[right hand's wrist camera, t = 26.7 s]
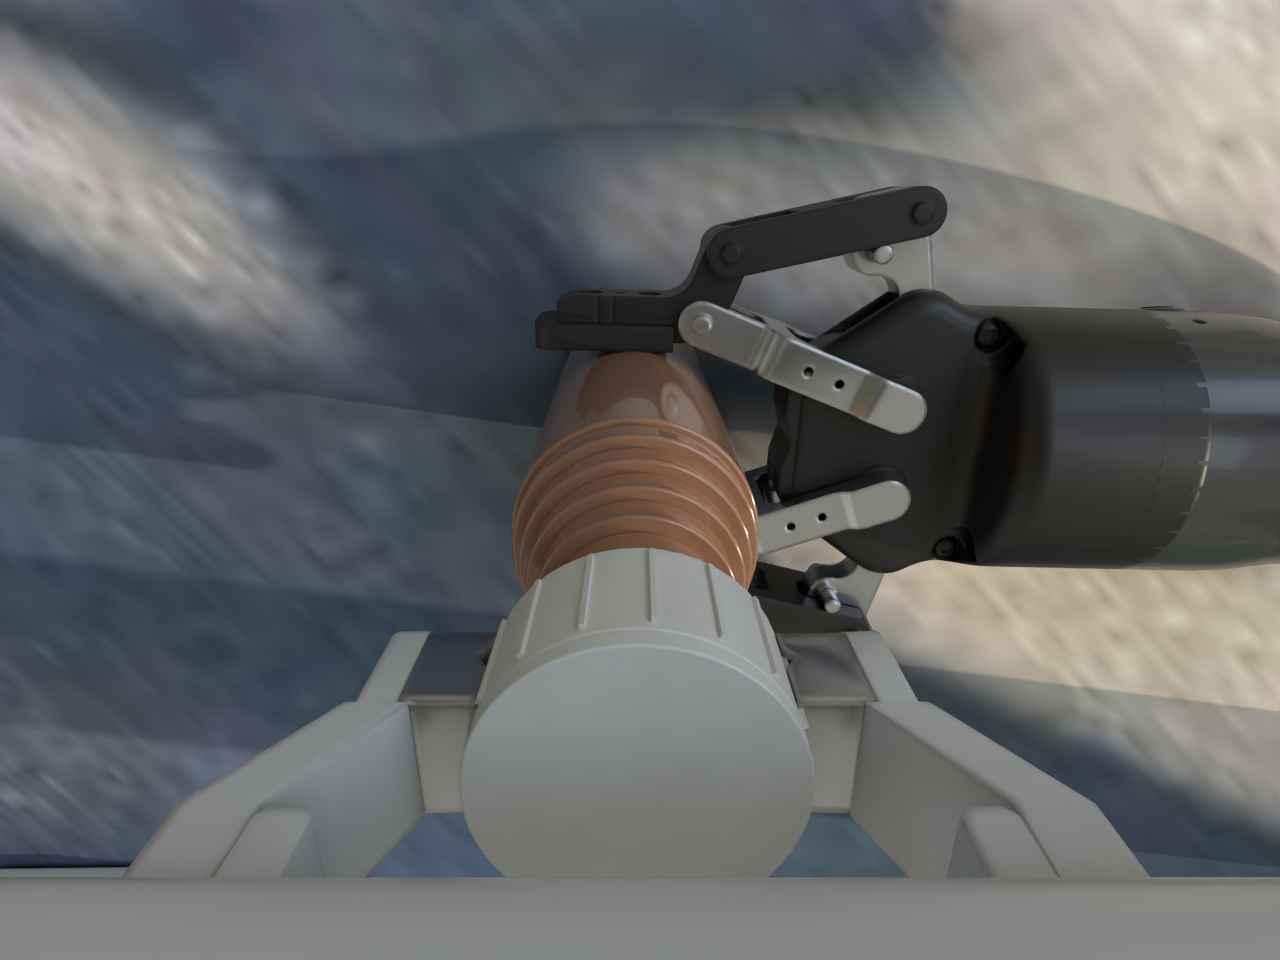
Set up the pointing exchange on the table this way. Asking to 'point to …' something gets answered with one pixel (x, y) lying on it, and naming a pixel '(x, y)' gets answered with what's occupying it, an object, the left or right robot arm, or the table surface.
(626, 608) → the cap
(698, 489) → the bottle
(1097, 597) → the table surface
